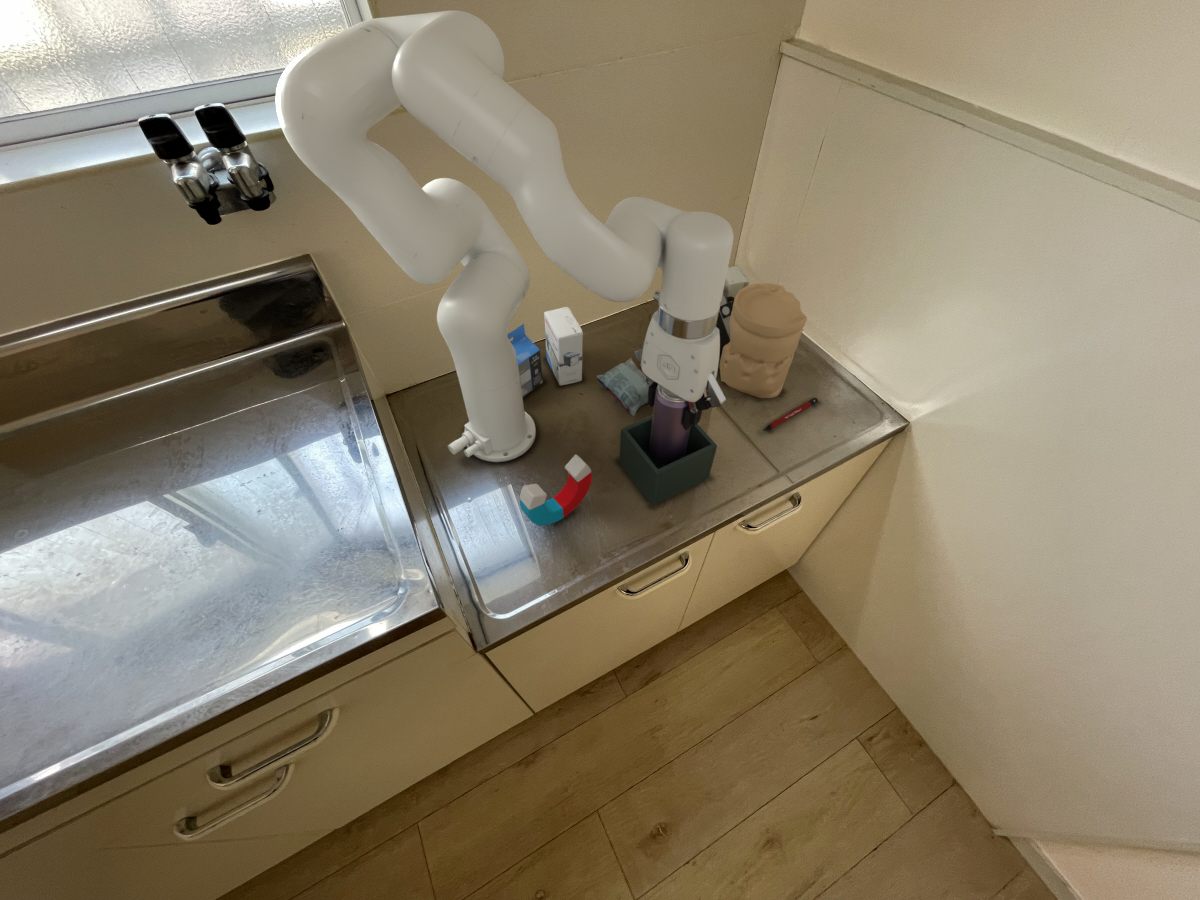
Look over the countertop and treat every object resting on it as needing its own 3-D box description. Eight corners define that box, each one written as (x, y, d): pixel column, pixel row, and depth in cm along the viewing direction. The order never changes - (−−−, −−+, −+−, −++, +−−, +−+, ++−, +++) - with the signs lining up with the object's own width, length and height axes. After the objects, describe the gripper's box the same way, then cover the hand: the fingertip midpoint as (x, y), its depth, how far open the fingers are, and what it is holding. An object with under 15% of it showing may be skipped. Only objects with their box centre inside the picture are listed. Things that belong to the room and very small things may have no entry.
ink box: (545, 359, 114) (542, 310, 105) (569, 353, 115) (567, 304, 106) (560, 387, 109) (557, 338, 100) (584, 380, 110) (583, 332, 101)
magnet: (533, 538, 88) (527, 501, 80) (523, 526, 89) (516, 489, 81) (592, 499, 92) (592, 461, 85) (582, 488, 94) (581, 450, 86)
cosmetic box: (738, 332, 120) (751, 282, 110) (719, 335, 119) (730, 285, 109) (727, 314, 124) (738, 264, 114) (708, 317, 123) (718, 267, 113)
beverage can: (682, 470, 91) (695, 405, 79) (646, 464, 91) (653, 399, 80) (686, 442, 94) (699, 376, 83) (651, 437, 95) (659, 370, 84)
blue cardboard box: (510, 407, 105) (502, 357, 96) (496, 398, 107) (486, 347, 97) (543, 382, 110) (539, 332, 100) (529, 373, 111) (523, 322, 102)
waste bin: (652, 506, 92) (656, 473, 85) (619, 462, 97) (620, 428, 91) (708, 478, 95) (717, 445, 89) (673, 437, 101) (679, 403, 94)
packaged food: (631, 368, 112) (632, 349, 109) (667, 404, 106) (670, 385, 102) (594, 385, 109) (594, 366, 106) (629, 423, 103) (631, 404, 99)
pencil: (760, 431, 102) (761, 427, 101) (813, 400, 107) (814, 396, 106) (763, 434, 102) (765, 430, 101) (816, 403, 107) (818, 399, 106)
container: (762, 354, 115) (785, 277, 101) (794, 396, 108) (823, 319, 94) (705, 367, 113) (721, 290, 99) (734, 411, 105) (756, 334, 91)
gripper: (617, 299, 73) (613, 397, 87) (726, 360, 66) (704, 457, 80) (654, 275, 77) (645, 373, 91) (762, 331, 70) (734, 428, 83)
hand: (672, 411), depth 85 cm, fingers closed on beverage can, 6 cm apart
